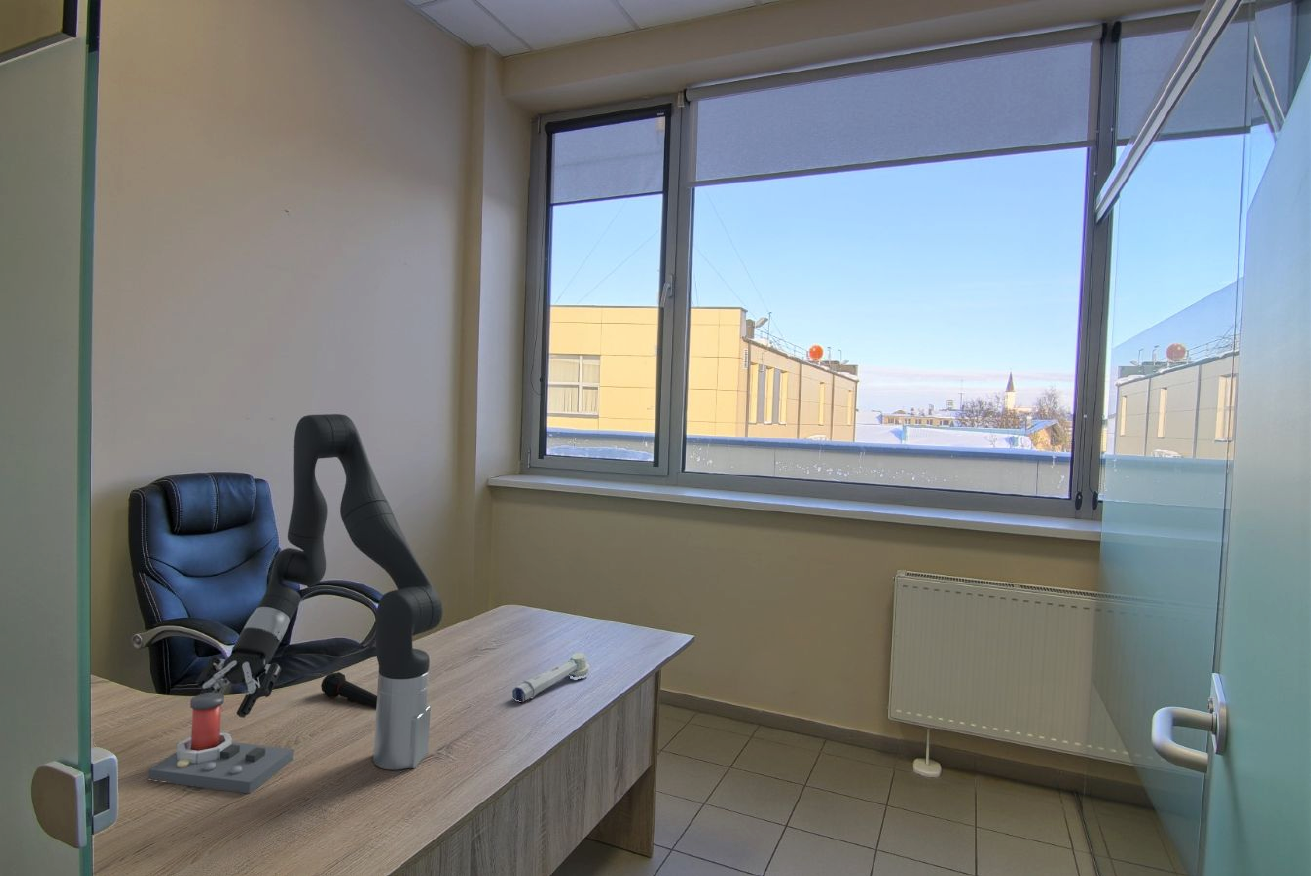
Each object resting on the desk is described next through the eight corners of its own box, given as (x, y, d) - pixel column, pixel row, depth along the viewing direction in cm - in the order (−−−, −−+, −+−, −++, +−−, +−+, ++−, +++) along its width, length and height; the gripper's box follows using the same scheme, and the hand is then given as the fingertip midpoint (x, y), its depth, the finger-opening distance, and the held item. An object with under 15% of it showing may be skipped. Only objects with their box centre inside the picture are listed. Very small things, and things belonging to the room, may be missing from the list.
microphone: (396, 721, 156) (328, 693, 162) (406, 695, 157) (338, 668, 164) (381, 723, 151) (312, 694, 157) (391, 696, 152) (321, 668, 159)
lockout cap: (228, 746, 130) (230, 694, 129) (207, 760, 124) (210, 705, 124) (202, 743, 130) (204, 691, 130) (180, 756, 125) (183, 702, 125)
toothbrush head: (509, 684, 164) (578, 645, 184) (510, 710, 165) (578, 669, 185) (525, 690, 161) (593, 650, 181) (526, 717, 162) (593, 674, 182)
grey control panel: (292, 759, 130) (294, 739, 130) (249, 793, 118) (250, 771, 118) (199, 748, 132) (200, 728, 132) (147, 780, 120) (148, 759, 120)
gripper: (221, 622, 139) (173, 701, 128) (287, 629, 138) (245, 709, 127) (237, 640, 145) (193, 717, 134) (302, 647, 144) (263, 725, 132)
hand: (219, 713), depth 130 cm, fingers open, 8 cm apart
